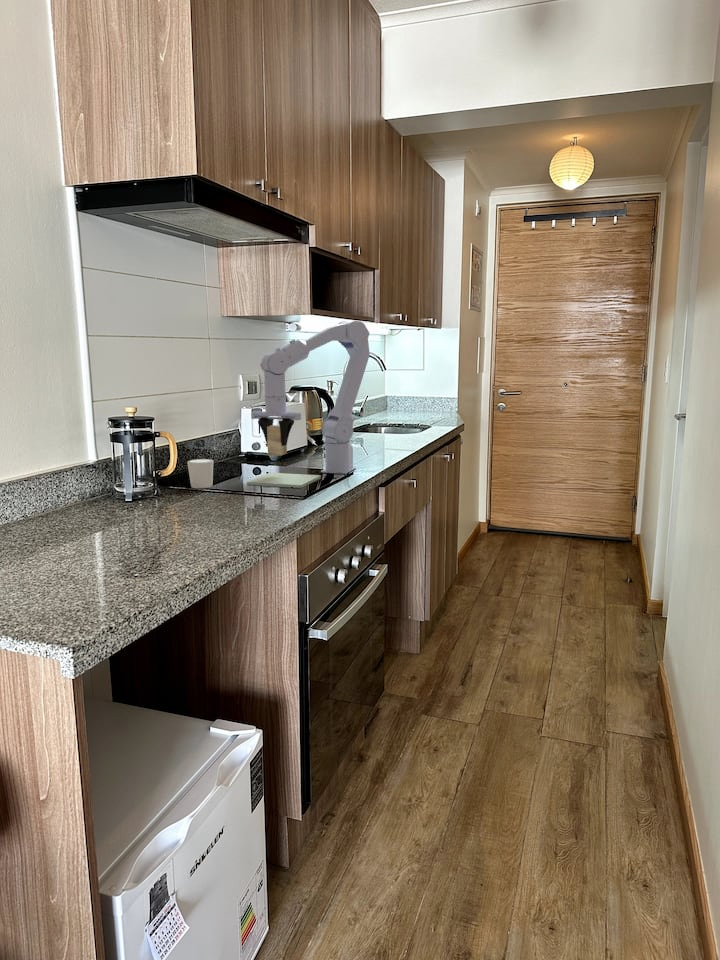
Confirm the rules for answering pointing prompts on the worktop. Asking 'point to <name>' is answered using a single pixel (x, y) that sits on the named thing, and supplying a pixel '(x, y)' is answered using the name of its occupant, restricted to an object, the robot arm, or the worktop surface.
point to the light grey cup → (201, 473)
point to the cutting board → (284, 480)
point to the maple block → (275, 441)
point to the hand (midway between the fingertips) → (276, 444)
